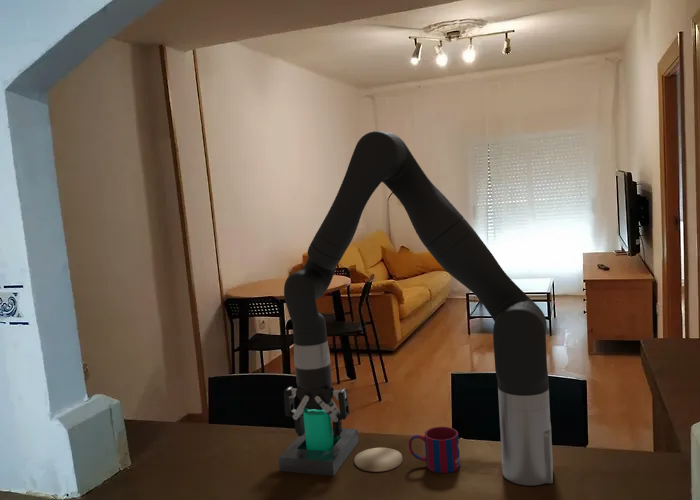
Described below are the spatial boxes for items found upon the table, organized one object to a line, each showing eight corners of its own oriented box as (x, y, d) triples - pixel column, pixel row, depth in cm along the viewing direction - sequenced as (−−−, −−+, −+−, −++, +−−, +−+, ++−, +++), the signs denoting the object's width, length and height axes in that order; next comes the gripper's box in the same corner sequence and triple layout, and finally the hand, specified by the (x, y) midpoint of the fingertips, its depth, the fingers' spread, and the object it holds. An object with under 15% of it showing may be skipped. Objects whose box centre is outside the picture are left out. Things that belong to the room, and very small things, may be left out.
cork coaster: (407, 451, 130) (407, 449, 129) (395, 473, 120) (395, 471, 120) (362, 448, 133) (362, 446, 133) (348, 469, 123) (347, 467, 123)
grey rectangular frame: (358, 441, 136) (357, 429, 136) (333, 475, 121) (332, 461, 121) (309, 438, 140) (308, 426, 140) (279, 471, 125) (278, 457, 125)
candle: (336, 449, 133) (331, 396, 132) (332, 462, 127) (328, 407, 126) (309, 450, 134) (304, 398, 133) (304, 462, 128) (299, 408, 127)
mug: (457, 474, 118) (455, 441, 117) (407, 471, 121) (405, 438, 120) (462, 459, 124) (460, 427, 123) (414, 456, 127) (412, 425, 127)
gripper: (349, 357, 130) (355, 430, 131) (289, 356, 134) (295, 427, 136) (338, 368, 123) (344, 445, 124) (274, 367, 127) (281, 441, 129)
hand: (319, 435), depth 130 cm, fingers open, 8 cm apart
